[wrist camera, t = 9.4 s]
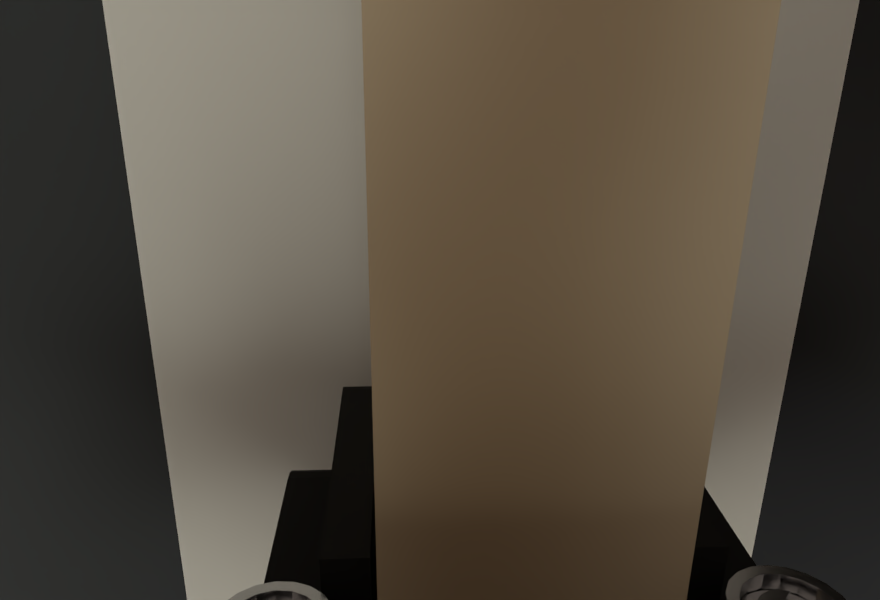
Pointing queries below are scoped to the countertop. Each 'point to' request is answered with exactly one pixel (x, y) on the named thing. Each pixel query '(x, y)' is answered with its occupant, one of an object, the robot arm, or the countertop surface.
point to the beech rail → (552, 284)
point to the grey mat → (346, 251)
